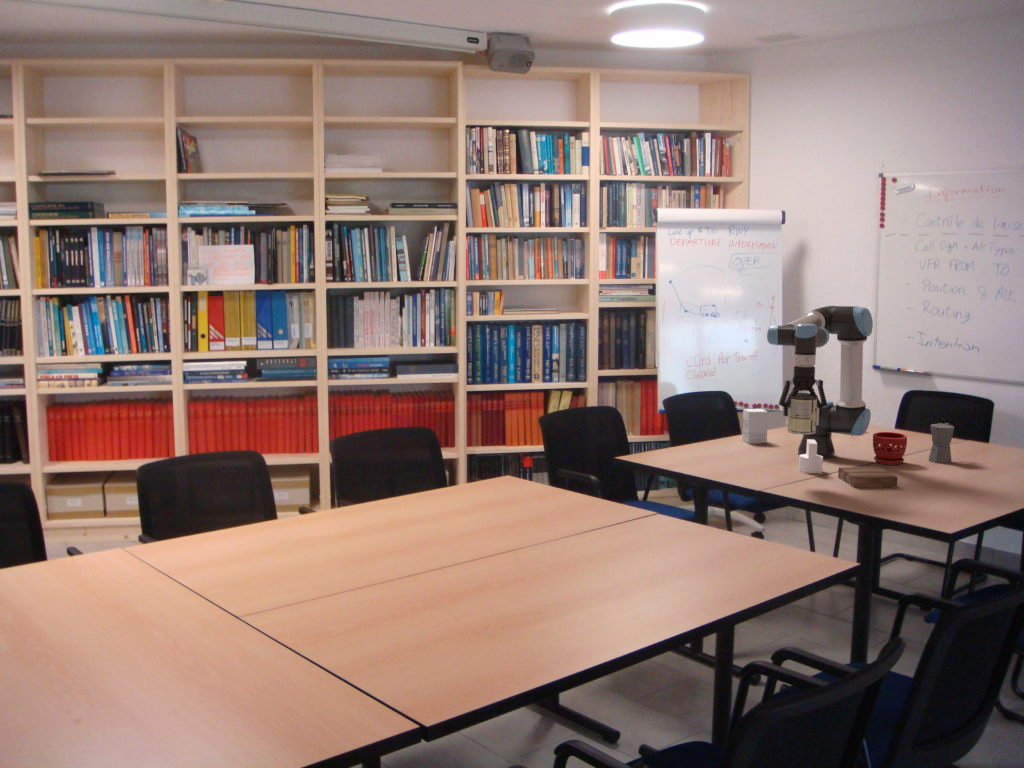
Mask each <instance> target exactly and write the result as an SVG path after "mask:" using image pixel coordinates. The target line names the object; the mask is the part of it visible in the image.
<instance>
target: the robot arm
mask: <svg viewBox="0 0 1024 768" xmlns="http://www.w3.org/2000/svg"><path fill="white" fill-rule="evenodd" d="M873 321H874V320H873V316H872V313H871V311H870V310H869V309H868V308H866V307H863V306H856V305H855V306H852V305H849V306H848V305H845V306H844V305H843V306H842V305H828V306H822V307H818V308H815V309H813V310H810V311H808V312H806V313H805V314H804V315H803V316H802V317H800V318H797V319H795V320H793V321H791V322H789V323H786V324H784V325H778V324H777V325H770V326H769V327H768V329H767V335H766V339H767V343H768V344H769V345H773V346H786V347H794V359H793V361H794V362H793V364H794V366H793V378H792V379H785V380H784V386H783V389H782V392H781V395H780V399H779V402H778V405H779V406H781V407H783V416H784V417H785V425H786V426H788V425H790V409H791V408H789V405H790V404H791V397H789V396H788V395H789V394H790V395H791V396H796V394H797V393H800V391H802V392H803V391H806V392H809V393H810V394H811V395H812V396H815V395H817V392H815V389H814V387H813V386H814V385H816V387H817V391H818V394H819V395H818V397H817V412H816V433H815V434H808V435H803V434H802V438H801V440H800V443H799V444H798V448H797V454H798V455H799V456H800V455H801V454H806V449H807V439H813V440H815V441H816V442H817V455H820V456H823V459H830V458H835V457H836V450H835V446H834V443H833V439H832V433H833V434H839V435H840V434H841V435H848V436H857V437H858V436H863V435H865V433H866V432H867V430H868V428H869V426H870V425H869V424H870V421H871V416H872V413H871V409H869V408H867V407H866V406H867V404H866V401H864V400H863V365H864V364H863V363H864V361H863V359H864V343H865V342H867V340H868V337H870V336H871V335H872V333H873V326H874V325H873V324H874V323H873ZM830 335H836V340H837V341H838V342H839V343H840V378H839V380H840V385H839V388H840V389H839V390H840V392H839V393H840V394H839V399H838V401H837V402H836V404H834V401H832V400H827V397H826V395H825V390H824V387H823V386H824V381H823V380H822V379H816V378H815V377H816V375H815V374H816V367H815V365H816V360H817V359H816V356H817V349H818V348H822V347H824V346H826V345H827V343H829V340H830ZM792 384H793V386H794V387H793V388H792V390H791V392H790V393H789V391H790V387H791V386H792Z"/></svg>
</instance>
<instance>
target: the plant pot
mask: <svg viewBox="0 0 1024 768" xmlns="http://www.w3.org/2000/svg"><path fill="white" fill-rule="evenodd" d="M907 446H908V436H907V435H906V434H904V433H900V432H893V431H891V432H890V431H879V432H875V433H873V434H872V448H873V452H874V457H873V459H874V461H875V462H877V463H878V462H879V464H882V465H887V464H892V465H891V466H893V465H894V466H897V465H896V464H898V465H902V464H903V463H904V461H905V459H904V455H905V452H906V450H907Z"/></svg>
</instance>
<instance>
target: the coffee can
mask: <svg viewBox="0 0 1024 768" xmlns="http://www.w3.org/2000/svg"><path fill="white" fill-rule="evenodd" d="M790 394H791V393H788V397H791V404H790V405H789V408H791V409H790V425H787V432H788V433H790V434H793V435H802V436H803V435H808V434H815V433H816V412H817V397H818V398H819V395H817V394H816V395H815V396H812V395H811V394H810V392H809V393H807V392H798V393H797V394H796V396H791V395H790Z"/></svg>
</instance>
